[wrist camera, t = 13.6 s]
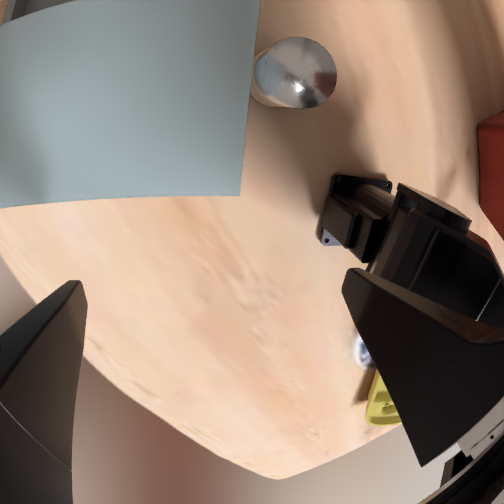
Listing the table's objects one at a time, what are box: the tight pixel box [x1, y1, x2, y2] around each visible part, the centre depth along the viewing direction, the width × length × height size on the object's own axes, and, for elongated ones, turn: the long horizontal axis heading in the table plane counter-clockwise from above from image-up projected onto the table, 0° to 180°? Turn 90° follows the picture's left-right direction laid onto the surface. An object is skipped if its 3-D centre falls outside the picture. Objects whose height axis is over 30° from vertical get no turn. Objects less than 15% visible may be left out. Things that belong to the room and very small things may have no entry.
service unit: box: [0, 0, 261, 208], centre depth 11 cm, size 15×9×10 cm, turn 84°
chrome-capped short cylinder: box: [250, 37, 337, 108], centre depth 15 cm, size 4×4×5 cm
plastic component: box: [365, 369, 402, 426], centre depth 43 cm, size 20×7×10 cm
